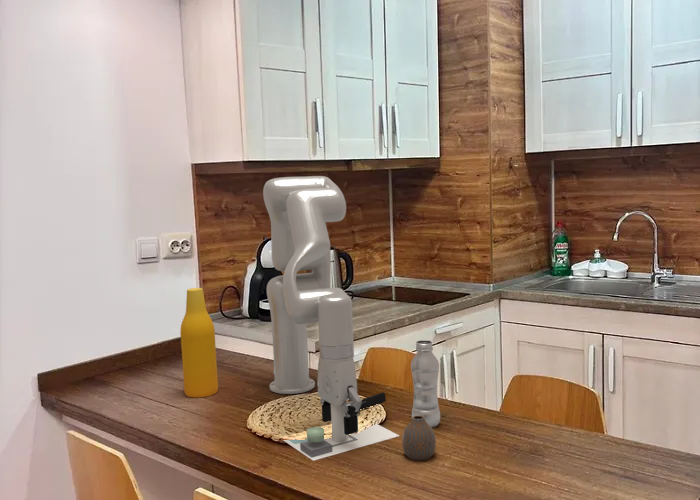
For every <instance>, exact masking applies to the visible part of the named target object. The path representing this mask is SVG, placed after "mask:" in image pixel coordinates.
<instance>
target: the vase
mask: <svg viewBox="0 0 700 500" xmlns="http://www.w3.org/2000/svg"><path fill="white" fill-rule="evenodd" d="M401 440H402V441H401V444H402V449H403V451H404V454H405V456H407V458H408V459H410V460H414V461H426V460H428V459H431V458H432V456H433V455H434V454H435V450H436V446H437V440H436V435H435V432H434V428H431V427H430V425H429V424H428V423H427V422H426V420H425V418H424V417H423V416H420V415H416V416H413V417H412V416H411V420H410V421H409V423H408V424H407V425H406V427H405V428H404V431H403V434H402V439H401Z"/></svg>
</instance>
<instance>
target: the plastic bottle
mask: <svg viewBox="0 0 700 500" xmlns="http://www.w3.org/2000/svg"><path fill="white" fill-rule="evenodd" d="M415 345H416V346H415V350H416V354H415V355H414V356H413V358H412V360H411V362H410V369H411V376H412V381H413V382H412V383H413V384H412V385H413V405H412V409H411V418H412V417H413V416H416V415H420V416H423V417H424V418H425V420H426V422H427V423H428V424H429V425H430V427H431V428H432V429H434V428H436V427H438V425H439V424H440V421H441V412H440V406H439V400H438V399H439V397H438V378H439V371H440V370H439V369H440V362H439V360H438V358H437V357H436V355H435V354H434V353H433V351H434V346H433V341H432V340H427V339H425V340H423V339H422V340H421V339H420V340H416V342H415Z"/></svg>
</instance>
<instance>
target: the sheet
mask: <svg viewBox="0 0 700 500" xmlns="http://www.w3.org/2000/svg"><path fill="white" fill-rule="evenodd" d="M397 437H400V434H398V433H395V432H394V431H391V430H389V429H388V428H385V427H383V426H382V425H380V424H377V423H376V424H375V425H373V426H371V427H369V428H368V429H366V430H364V431H362V432H360V433H357V434H353V435H348V440H347V441H344V442H335V441H333V440H332V438H329V439H324V440H325V441H327V442H328V443H330V444H331V445H332V452H330V453H326V454H323V455H319V456H316V457H310V456H309V455H307V454H306V453H304V452H303V451H301V450H300V443H303V442H307V441H308V440H307V439H305V440H296V439H295V440H282V441H283V442H285V443H287V444H288V445H289V446H291V447H292V448H294V449H295V450H297V451H298V452H300V453H301V454H303V455H304V456H306V458H308V459H310V460H311V461H312V462H313V461H317V460H320V459H325V458H327V457H331V456H336V455H338V454H342V453H345V452H348V451H352V450H355V449H359V448H363V447H366V446H370V445H373V444H377V443H380V442H383V441H387V440H390V439H394V438H397Z"/></svg>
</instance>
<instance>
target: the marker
mask: <svg viewBox="0 0 700 500" xmlns="http://www.w3.org/2000/svg"><path fill="white" fill-rule="evenodd" d="M346 402H348V401H347V400H346ZM344 416H345V413H344V410H343V408H342V406H341V407H337V406H335V405H333V404H331V421H330V422H331V423H332V440H333V441H335V442H344V441H347V440H348V435H346V434H344Z"/></svg>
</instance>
